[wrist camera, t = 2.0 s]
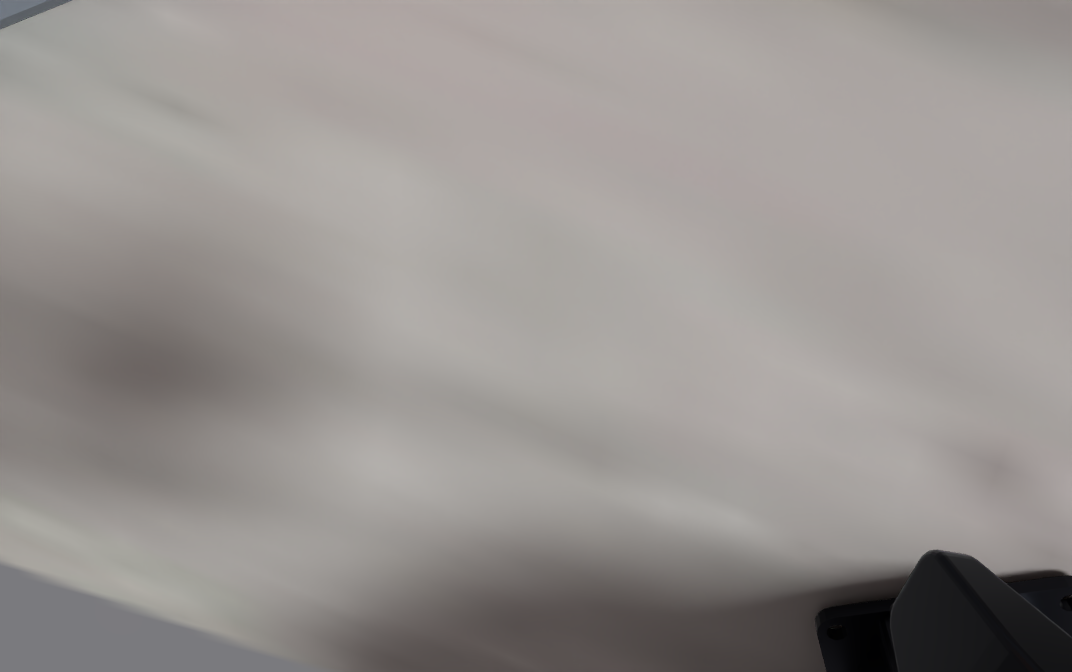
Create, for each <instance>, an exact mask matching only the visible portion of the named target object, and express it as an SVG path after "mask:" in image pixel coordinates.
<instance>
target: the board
mask: <svg viewBox="0 0 1072 672" xmlns="http://www.w3.org/2000/svg"><path fill="white" fill-rule="evenodd" d="M69 1H71V0H0V29H2V28H4V27H7V26H9V25H12V24H14V23H17V22H19V21H22V20H24V19H27V18H29V17H32V16H34V15H37V14H39V13H42V12H44V11H47V10H49V9H52V8H54V7H56V6H59V5H61V4H64V3H66V2H69Z"/></svg>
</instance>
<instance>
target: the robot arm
mask: <svg viewBox="0 0 1072 672" xmlns="http://www.w3.org/2000/svg"><path fill="white" fill-rule="evenodd" d="M1068 595H1072V576H1058V577H1051V578H1043V579H1036V580H1028V581H1021V582H1013V583H1005V582H1004V581H1002V580H1001V579H1000V578H999V577H998V576H996V575H995V574H994V573H993V572H991V571H990V570H989V569H988V568H987V567H985V566H984V565H983V564H982V563H980V562H979V561H978V560H977V559H975V558H974V557H972V556H969V555H966V554H961V553H955V552H949V551H942V550H931V551H928V552H927V553H925V554H924V555H923V556H922V557H921V558H920V560H919V561H918V563H917V565H916V566H915V568H914V570H913V571H912V573H911V575H910V577H909V578H908V580H907V582H906V583H905V585H904V587H903V588H902V590H901V592H900V593H899V595H898V597H897V598H894V599H887V600H879V601H872V602H864V603H857V604H850V605H842V606H835V607H829V608H826V609H823V610H822V611H821V612H819V613H818V615H817V616H816V618H815V625H816V631H817V636H818V640H819V644H820V648H821V651H822V655H823V659H824V663H825V667H826V671H827V672H1072V598H1069V599H1066V600H1065V599H1063V598H1064V597H1065V596H1068ZM834 625H841V626H842V627H840V628H837V629H832V628H830V627H831V626H834Z"/></svg>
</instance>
